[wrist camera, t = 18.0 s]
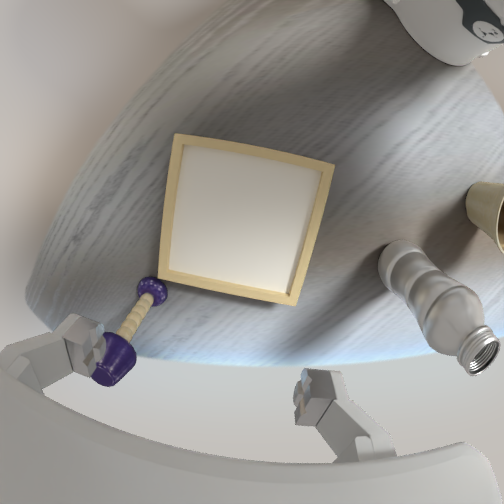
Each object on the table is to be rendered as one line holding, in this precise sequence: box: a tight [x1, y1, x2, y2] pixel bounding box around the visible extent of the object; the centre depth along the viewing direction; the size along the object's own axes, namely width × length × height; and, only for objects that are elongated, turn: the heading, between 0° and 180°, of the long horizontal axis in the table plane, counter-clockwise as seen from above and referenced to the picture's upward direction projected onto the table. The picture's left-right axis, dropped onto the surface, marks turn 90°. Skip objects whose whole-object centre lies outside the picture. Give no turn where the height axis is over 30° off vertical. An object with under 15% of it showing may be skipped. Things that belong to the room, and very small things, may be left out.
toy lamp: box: [91, 277, 167, 387], centre depth 28 cm, size 5×5×17 cm
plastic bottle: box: [378, 240, 500, 376], centre depth 23 cm, size 6×7×20 cm
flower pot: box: [466, 182, 504, 254], centre depth 25 cm, size 9×9×9 cm
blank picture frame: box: [158, 133, 335, 306], centre depth 30 cm, size 16×16×4 cm
